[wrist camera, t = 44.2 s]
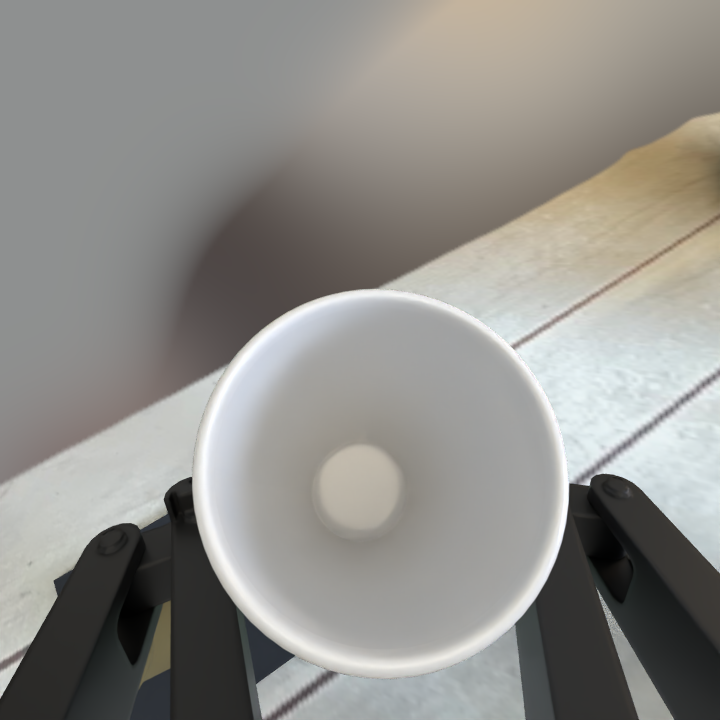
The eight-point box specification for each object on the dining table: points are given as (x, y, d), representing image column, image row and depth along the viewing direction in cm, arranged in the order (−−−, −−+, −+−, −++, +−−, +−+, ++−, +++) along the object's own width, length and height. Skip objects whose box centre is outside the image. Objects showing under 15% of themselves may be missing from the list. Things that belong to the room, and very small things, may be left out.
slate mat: (224, 482, 33) (222, 481, 32) (301, 649, 28) (300, 651, 28) (57, 579, 30) (53, 580, 29) (115, 783, 25) (111, 788, 25)
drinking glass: (269, 501, 20) (95, 479, 6) (349, 405, 22) (354, 228, 8) (369, 592, 19) (433, 826, 5) (445, 480, 21) (642, 418, 7)
